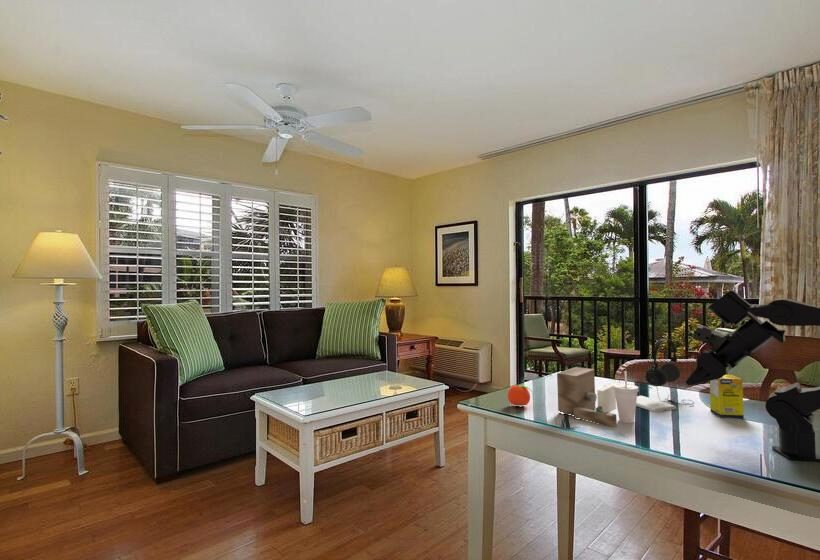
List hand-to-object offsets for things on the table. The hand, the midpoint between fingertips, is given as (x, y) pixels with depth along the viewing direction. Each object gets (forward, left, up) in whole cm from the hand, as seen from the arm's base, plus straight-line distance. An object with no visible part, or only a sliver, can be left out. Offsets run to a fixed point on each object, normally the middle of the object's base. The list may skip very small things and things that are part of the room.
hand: (692, 380), depth 108 cm
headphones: (+29, -6, -14) cm, 33 cm away
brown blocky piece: (+14, +21, -14) cm, 28 cm away
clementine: (+20, +41, -14) cm, 48 cm away
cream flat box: (+11, +18, -12) cm, 24 cm away
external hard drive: (+26, +2, -14) cm, 30 cm away
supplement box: (+18, -16, -14) cm, 28 cm away
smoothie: (+9, +13, -14) cm, 21 cm away
